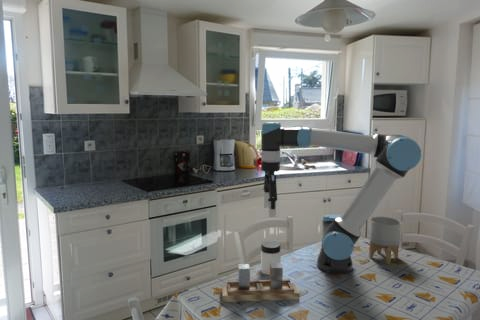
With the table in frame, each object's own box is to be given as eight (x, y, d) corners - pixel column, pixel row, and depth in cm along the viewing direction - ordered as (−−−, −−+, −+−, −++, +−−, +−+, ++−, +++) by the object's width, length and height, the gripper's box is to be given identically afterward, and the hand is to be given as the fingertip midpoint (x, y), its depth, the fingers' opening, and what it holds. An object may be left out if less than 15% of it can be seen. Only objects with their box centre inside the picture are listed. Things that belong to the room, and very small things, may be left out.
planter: (403, 263, 165) (405, 225, 163) (374, 263, 165) (376, 225, 163) (391, 252, 178) (394, 216, 175) (365, 251, 178) (366, 216, 176)
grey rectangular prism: (249, 286, 138) (249, 264, 137) (249, 291, 134) (250, 268, 133) (238, 286, 138) (238, 264, 137) (238, 292, 134) (238, 268, 133)
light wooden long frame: (294, 288, 142) (295, 260, 140) (299, 299, 134) (300, 269, 132) (222, 291, 140) (221, 262, 138) (222, 302, 132) (222, 271, 130)
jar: (267, 277, 151) (268, 249, 149) (256, 270, 158) (256, 243, 156) (284, 272, 156) (285, 245, 154) (272, 265, 163) (273, 239, 161)
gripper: (257, 156, 160) (257, 203, 163) (265, 165, 135) (264, 221, 138) (274, 156, 161) (273, 203, 164) (285, 165, 136) (284, 220, 139)
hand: (269, 211), depth 151 cm, fingers open, 13 cm apart
